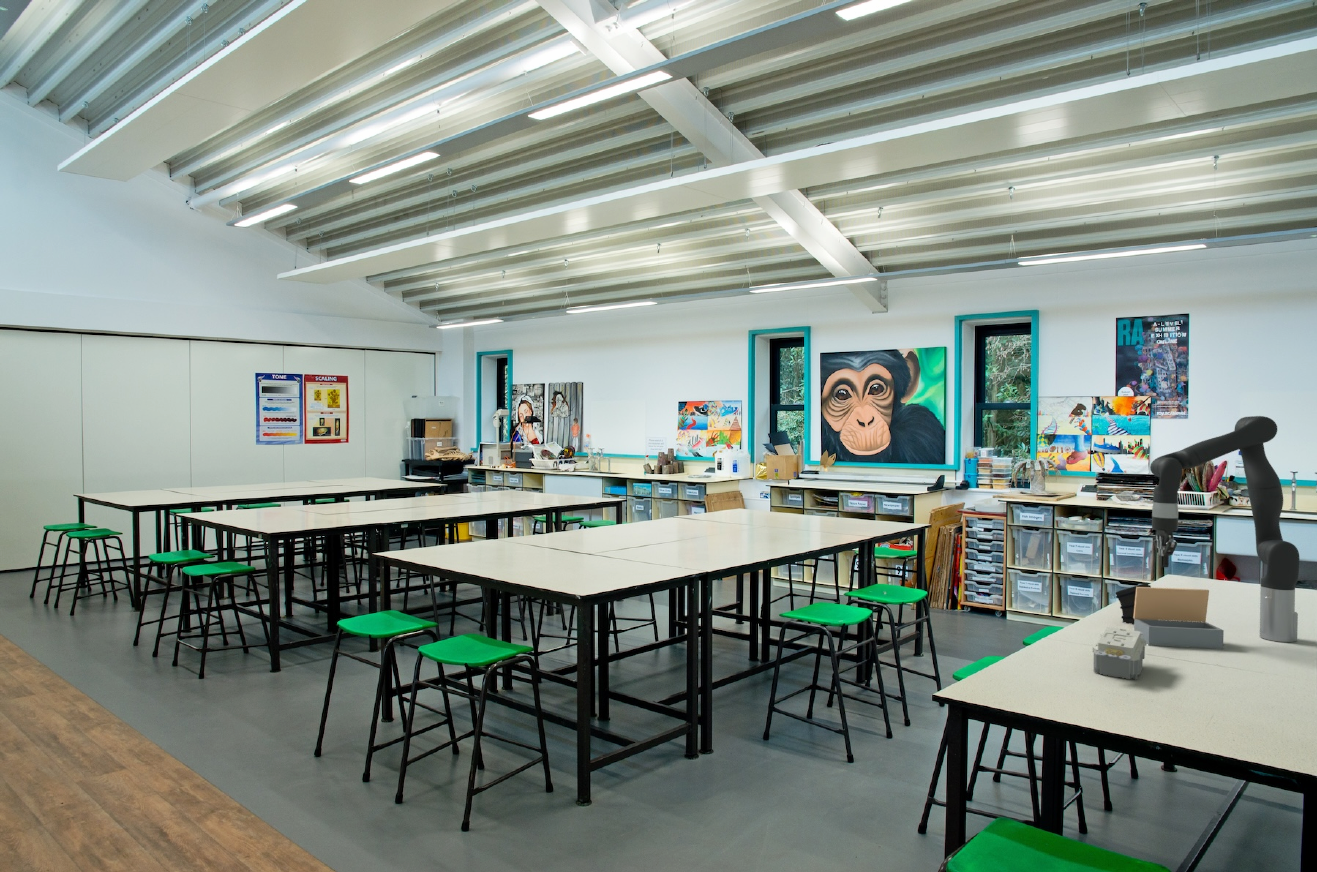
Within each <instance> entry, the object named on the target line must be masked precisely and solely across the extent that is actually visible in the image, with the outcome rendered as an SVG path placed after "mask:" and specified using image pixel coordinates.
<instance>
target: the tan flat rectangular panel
mask: <svg viewBox="0 0 1317 872" xmlns="http://www.w3.org/2000/svg"><path fill="white" fill-rule="evenodd" d="M1209 595H1210V590H1209V589H1202V588H1201V589H1200V588H1199V589H1198V588H1171V587H1170V588H1169V587H1152V586H1151V587H1136V595H1135V606H1134V616H1133V618H1134V619H1150V620H1170V621H1192V622H1207V613H1208V605H1209V603H1208V602H1209Z"/></svg>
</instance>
